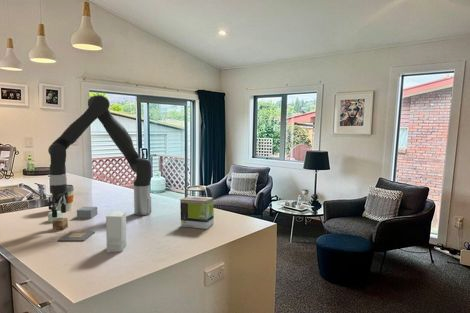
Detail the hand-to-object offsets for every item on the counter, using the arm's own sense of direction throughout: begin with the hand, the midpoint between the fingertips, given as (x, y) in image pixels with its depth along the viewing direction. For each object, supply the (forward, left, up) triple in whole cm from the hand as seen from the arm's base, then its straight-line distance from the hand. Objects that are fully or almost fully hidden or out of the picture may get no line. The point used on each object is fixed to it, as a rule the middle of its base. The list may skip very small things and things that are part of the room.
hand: (59, 215), depth 159 cm
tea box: (-69, -5, -8) cm, 70 cm away
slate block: (-4, -22, -7) cm, 24 cm away
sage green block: (+10, -14, -7) cm, 19 cm away
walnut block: (0, 0, -7) cm, 7 cm away
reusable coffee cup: (+17, -36, -7) cm, 41 cm away
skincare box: (-38, +27, -7) cm, 47 cm away
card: (-14, +12, -7) cm, 20 cm away
